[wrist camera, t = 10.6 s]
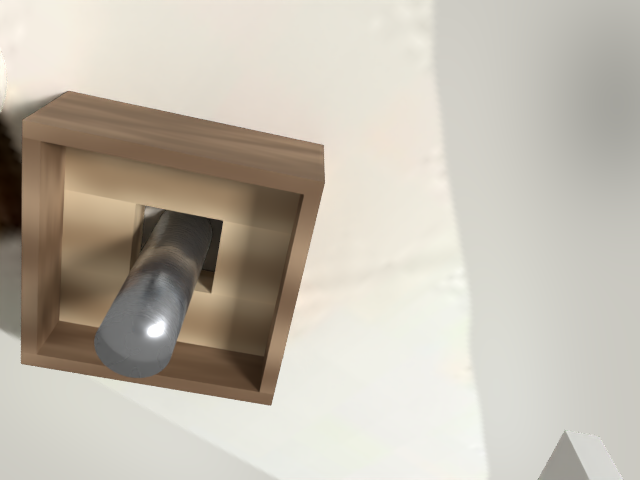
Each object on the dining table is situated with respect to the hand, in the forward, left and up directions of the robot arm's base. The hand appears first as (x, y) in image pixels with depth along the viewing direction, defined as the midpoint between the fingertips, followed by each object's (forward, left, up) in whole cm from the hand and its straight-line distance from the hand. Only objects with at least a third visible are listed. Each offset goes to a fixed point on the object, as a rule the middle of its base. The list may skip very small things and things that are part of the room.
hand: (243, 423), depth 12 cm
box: (+12, -6, -31) cm, 33 cm away
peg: (+12, -6, -31) cm, 33 cm away
